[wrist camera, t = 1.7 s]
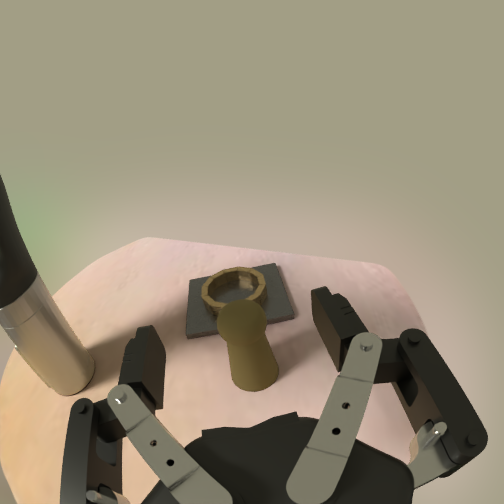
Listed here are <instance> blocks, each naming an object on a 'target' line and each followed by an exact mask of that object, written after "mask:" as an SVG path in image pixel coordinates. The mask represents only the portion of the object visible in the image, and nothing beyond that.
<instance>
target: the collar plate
mask: <svg viewBox="0 0 504 504" xmlns="http://www.w3.org/2000/svg"><path fill="white" fill-rule="evenodd" d="M240 299H247V300H252V301H254V302H256V303H257V304H259V305H260V306H261V307H262V308H263V310H264V312H265V315H266V318H267V325H268V324H272V323H277V322H281V321H286V320H290V319H294V313H293V310H292V307H291V305H290V302H289V299H288V296H287V294H286V291H285V288H284V286H283V283H282V280H281V277H280V275H279V272H278V269H277V267H276V264H275V263H272V264H267V265H262V266H257V267H252V268H245V267H235V268H230V269H225V270H222V271H220V272H218V273H216V274H214V275H212V276H207V277H202V278H197V279H192V280H190V283H189V295H188V308H187V324H186V336H187V338H188V339H192V338H198V337H204V336H210V335H216V334H220V333H219V331H218V329H217V317H218V314H219V312H220V310H221V309H222V308H223V307H224V306H225V305H226V304H228V303H230V302H232V301H235V300H240Z"/></svg>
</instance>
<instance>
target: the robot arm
mask: <svg viewBox="0 0 504 504" xmlns="http://www.w3.org/2000/svg"><path fill="white" fill-rule="evenodd" d="M311 300H312V315H313V320H314V323H315V325H316V327H317V329H318V331H319V333H320V336H321V338H322V340H323V342H324V344H325V346H326V348H327V350H328V352H329V354H330V356H331V358H332V360H333V363H334V365H335V367H336V369H337V371H338V372H341V373H340V375H338V376H337V378H336V380H335V383H334V385H333V388H332V390H331V393H330V395H329V398H328V400H327V402H326V405H325V407H324V410H323V412H322V414H321V417H320V419H315V418H310V417H298V415H297V412H292V413H288V414H285V415H280V416H276V417H273V418H270V419H268V420H266V421H264V422H262V423H260V424H257V425H255V426H253V427H250V428H236V427H221V428H214V429H207V430H202V437H199V438H197V439H195V440H194V441H192V442H191V443H189V444H188V445H187V446H186V447H185V448H184V447H183V446H182V445H181V444H180V443H179V442H178V441H177V440H176V439H175V438H174V437H173V436H172V434H171V433H170V432H169V431H168V430H167V429H166V428H165V427H164V426H163V424H162V423H161V422H160V421H159V420H158V419H157V418H156V416H155V410H158V409H163V396H164V378H165V363H166V352H165V348H164V346H163V344H162V342H161V340H160V338H159V336H158V334H157V332H156V330H155V328H154V327H153V326H152V325H150V326H144V327H139V328H138V329H137V332H136V337H135V338H133V339H131V340H130V341H129V343H128V344H127V346H126V348H125V353H124V357H123V363H122V367H121V372H120V377H119V382H118V385H117V386H115V387H114V388H113V389H112V390H111V391H110V392H109V394H108V397H107V398H106V399H104V400H101V401H98V402H96V403H93V402H92V401H91V400H90V399H88V398H81V399H79V400H77V401H76V402H75V403H74V404H73V406H72V408H71V411H70V417H69V422H68V428H67V434H66V441H65V448H64V456H63V465H62V475H61V489H60V504H130V502H129V501H128V499H127V498H126V497H124V496H123V495H122V438H124V437H126V436H127V437H128V438H129V440H130V441H131V443H132V444H133V445H134V447H135V448H136V449H137V451H138V452H139V453H140V455H141V456H142V457H143V459H144V460H145V461H146V462H147V464H148V465H149V466H150V468H151V469H152V470H153V471H154V472H155V474H156V475H157V476H158V477H159V478H160V480H159V481H158V483H157V484H156V485H155V487H154V488H153V489H152V490H151V492H150V493H149V494H148V495H147V497H146V498H145V499H144V500H143V502H142V503H141V504H412V497H413V492H414V490H415V489H416V488H418V487H421V486H423V485H425V484H427V483H429V482H431V481H433V480H434V479H436V478H438V477H440V478H445V477H448V476H450V475H451V474H453V473H454V472H456V471H457V470H459V469H460V468H461V467H463V466H464V465H465V464H467V463H468V462H470V461H471V460H472V459H473V458H475V457H476V456H477V455H479V454H480V453H481V452H482V451H483V450H484V449H485V447H486V445H487V441H488V435H487V432H486V430H485V428H484V426H483V424H482V422H481V420H480V419H479V417H478V415H477V413H476V412H475V410H474V408H473V406H472V405H471V403H470V401H469V400H468V398H467V396H466V395H465V393H464V391H463V390H462V388H461V386H460V385H459V383H458V382H457V380H456V378H455V377H454V375H453V374H452V372H451V371H450V369H449V368H448V366H447V364H446V363H445V362H444V360H443V358H442V357H441V355H440V354H439V352H438V351H437V349H436V348H435V347H434V345H433V344H432V342H431V341H430V339H429V338H428V336H427V335H426V334H425V333H424V332H423V331H421V330H419V329H413V328H412V329H407V330H405V331H403V332H402V333H401V335H400V338H395V339H380V338H379V337H378V336H377V335H375V334H373V333H369V332H368V330H367V329H366V327H365V326H364V324H363V323H362V321H361V319H360V318H359V317H358V315H357V314H356V312H355V311H354V309H353V308H352V307H351V305H350V303H349V302H348V300H347V299H346V298H345V297H343V296H342V295H340V294H339V293H337V294H334V295H332V294H331V293H330V291H329V289H328V288H327V287H326V286H324V287H321V288H317V289H313V290H311ZM0 325H1V326H2V327H3V329H4V330H5V332H6V333H7V334H8V336H9V337H10V339H11V340H12V341H13V343H14V344H15V349H16V350H17V351H18V353H19V354H20V355H21V356H22V358H23V359H24V360H25V361H26V362H27V364H28V365H29V366H30V367H31V368H32V369H33V371H34V372H35V373H36V374H37V375H38V376H39V377H40V378H41V379H42V381H43V382H44V383H45V384H46V385H47V386H48V387H52V388H53V389H54V390H55V392H57V393H58V394H60V395H66V396H68V395H73V394H75V393H77V392H79V391H81V390H82V389H83V388H84V387H85V386H86V385H87V384H88V383H89V381H90V380H91V378H92V376H93V373H94V369H95V363H94V360H93V358H92V357H91V355H90V354H89V353H88V351H87V350H86V349H85V347H84V346H83V344H82V343H81V341H80V340H79V339H78V337H77V336H76V334H75V333H74V331H73V330H72V328H71V327H70V325H69V324H68V322H67V321H66V319H65V318H64V316H63V314H62V313H61V311H60V310H59V308H58V306H57V305H56V303H55V301H54V300H53V298H52V296H51V294H50V293H49V291H48V289H47V288H46V286H45V284H44V282H43V280H42V279H41V277H40V275H39V273H38V271H37V269H36V267H35V265H34V263H33V261H32V259H31V257H30V255H29V253H28V250H27V248H26V246H25V244H24V241H23V239H22V237H21V235H20V232H19V229H18V227H17V224H16V221H15V218H14V215H13V213H12V209H11V206H10V202H9V199H8V196H7V192H6V189H5V186H4V183H3V181H2V178H1V175H0ZM389 382H391V383H392V385H393V387H394V389H395V391H396V393H397V395H398V397H399V400H400V402H401V404H402V406H403V408H404V410H405V412H406V414H407V416H408V418H409V421H410V423H411V425H412V427H413V429H414V431H415V434H416V435H415V436H414V438H413V439H412V440H411V443H410V447H409V449H410V454H411V458H410V462H409V464H408V465H406V464H405V463H404V462H402V461H401V460H399V459H397V458H395V457H392V456H390V455H388V454H386V453H384V452H382V451H380V450H378V449H375V448H373V447H371V446H369V445H367V444H365V443H363V442H361V441H359V440H358V439H356V436H357V433H358V430H359V427H360V425H361V422H362V419H363V415H364V412H365V409H366V406H367V403H368V399H369V396H370V392H371V389H372V385H373V384H379V383H389Z"/></svg>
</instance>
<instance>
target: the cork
mask: <svg viewBox="0 0 504 504" xmlns="http://www.w3.org/2000/svg"><path fill="white" fill-rule="evenodd" d="M266 325H267V318H266V315H265V312H264V310H263V308H262V307H261V306H260V305H259V304H257V303H256V302H254V301H252V300H247V299H240V300H235V301H232V302H230V303H228V304H226V305H225V306H224V307H223V308H222V309H221V310H220V312H219V314H218V317H217V329H218V331H219V333H220V335H221V337H222V338H223V339H224V340H225V341H226V342H227V347H228V354H229V361H230V368H231V375H232V380H233V382H234V383H235V385H236V386H237V387H239V388H240V389H242V390H245V391H252V392H256V391H260V390H264V389H266V388H268V387H269V386H271V385H272V384H273V383H274V382H275V380H276V378H277V377H278V372H279V369H278V365H277V362H276V360H275V357H274V355H273V352H272V350H271V347H270V345H269V342H268V340H267V337H266V335H265V330H266Z"/></svg>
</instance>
